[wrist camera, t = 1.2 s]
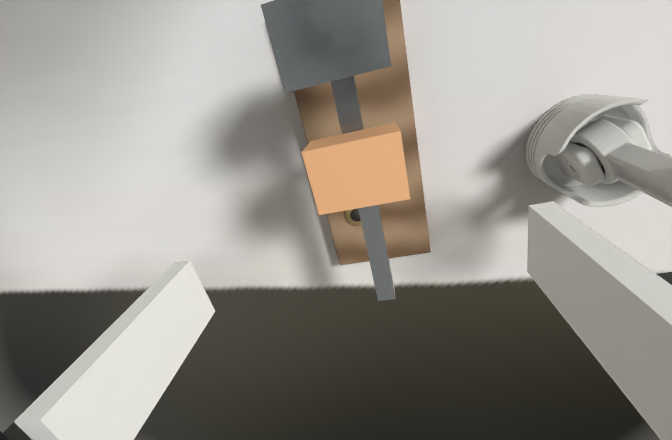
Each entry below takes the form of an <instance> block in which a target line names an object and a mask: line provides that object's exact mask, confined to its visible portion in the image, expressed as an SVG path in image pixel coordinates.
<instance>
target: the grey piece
mask: <svg viewBox="0 0 672 440" xmlns="http://www.w3.org/2000/svg"><path fill="white" fill-rule="evenodd" d="M261 8H262V11H263V15H264V19H265V22H266V26H267V29H268V33H269V37H270V40H271V44H272V47H273V51H274V55H275V58H276V62H277V66H278V69H279V73H280V76H281V80H282V84H283V87H284V91H285V93H288V92H292V91H296V90H299V89H303V88H307V87H311V86H315V85H319V84H323V83H327V82H331V87H332V91H333V96H334V100H335V105H336V110H337V114H338V119H339V123H340V128H341V132H342V134H344V133H349V132H353V131H358V130H363V129H364V124H363V119H362V114H361V108H360V103H359V98H358V93H357V87H356V82H355V77H354V76H355V75H359V74H363V73H367V72H371V71H374V70H378V69H382V68H386V67H390V66H391V59H390V52H389V45H388V38H387V31H386V24H385V17H384V10H383V3H382V0H274V1H271V2H268V3H265V4H262V5H261ZM358 210H359V215H360V219H361V224H362V229H363V233H364V238H365V242H366V247H367V252H368V256H369V261H370V265H371V270H372V274H373V279H374V284H375V288H376V293H377V297H378V300H379V301H380V300H388V299H395V290H394V284H393V279H392V273H391V268H390V263H389V257H388V252H387V247H386V241H385V236H384V231H383V225H382V220H381V215H380V209H379V205H374V206H368V207H363V208H358Z"/></svg>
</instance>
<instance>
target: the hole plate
mask: <svg viewBox="0 0 672 440" xmlns="http://www.w3.org/2000/svg"><path fill="white" fill-rule="evenodd" d="M382 3H383V10H384V17H385V24H386V31H387V38H388V45H389V52H390V59H391V66H390V67H386V68H382V69H378V70H374V71H371V72H367V73H363V74H359V75H355V76H354V77H355V82H356V87H357V93H358V98H359V103H360V108H361V114H362V119H363V124H364V129H367V128H372V127H376V126H381V125H385V124H390V123H394V122H396V123H397V125H398V127H399V129H400V131H401V137H402V144H403V151H404V158H405V165H406V172H407V179H408V186H409V193H410V199H408V200H403V201H397V202H391V203H385V204H380V205H379V209H380V215H381V220H382V225H383V231H384V236H385V241H386V247H387V252H388V257H389V258H394V257H401V256H407V255H414V254H421V253H428V252H431V251H430V243H429V235H428V226H427V218H426V210H425V202H424V194H423V186H422V177H421V169H420V161H419V153H418V145H417V137H416V128H415V120H414V112H413V104H412V96H411V88H410V79H409V71H408V63H407V55H406V47H405V39H404V30H403V22H402V14H401V6H400V0H382ZM294 93H295V97H296V101H297V104H298V108H299V112H300V116H301V119H302V123H303V127H304V131H305V135H306V138H307V142H308V144H309V143H310V141H313V140H317V139H322V138H326V137H331V136H335V135H340V134H342V132H341V128H340V123H339V119H338V114H337V110H336V105H335V100H334V96H333V91H332V87H331V82H327V83H323V84H319V85H315V86H311V87H307V88H303V89H299V90H296V91H294ZM327 217H328V221H329V225H330V229H331V232H332V236H333V240H334V244H335V248H336V251H337V255H338V259H339V263H340V265H345V264H352V263H359V262H366V261H369V256H368V252H367V247H366V242H365V238H364V233H363V229H362V224H361V219H360V215H359V210H358V208H357V209H351V210H346V211H340V212H334V213H328V214H327Z"/></svg>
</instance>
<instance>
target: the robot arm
mask: <svg viewBox="0 0 672 440" xmlns="http://www.w3.org/2000/svg"><path fill="white" fill-rule="evenodd" d="M527 272H528V273H529V274H530V275H531V277H532V278H533V279H534V280H535V282H536V283H537V284H538V286H539V287H540V288H541V289H542V290H543V292H544V293H545V294H546V296H547V297H548V298H549V299H550V301H551V302H552V303H553V304H554V306H555V307H556V308H557V309H558V311H559V312H560V313H561V314H562V316H563V317H564V318H565V320H566V321H567V322H568V323H569V324H570V326H571V327H572V328H573V330H574V331H575V332H576V333H577V335H578V336H579V337H580V338H581V340H582V341H583V342H584V343H585V345H586V346H587V347H588V349H589V350H590V351H591V352H592V354H593V355H594V356H595V357H596V359H597V360H598V361H599V362H600V364H601V365H602V366H603V368H604V369H605V370H606V371H607V373H608V374H609V375H610V376H611V377H612V379H613V380H614V381H615V383H616V384H617V385H618V386H619V388H620V389H621V390H622V391H623V393H624V394H625V395H626V396H627V398H628V399H629V400H630V401H631V403H632V404H633V405H634V407H635V408H636V409H637V410H638V412H639V413H640V414H641V415H642V417H643V418H644V419H645V420H646V422H647V423H648V424H649V426H650V427H651V428H652V429H653V431H655V433H656V434H657V436H658V437H659V438H660V439H661V440H672V272H668V273H660V274H655V273H654V272H652V271H651V270H650V269H648V268H647V267H645V266H644V265H643V264H641V263H640V262H638V261H637V260H636V259H634V258H633V257H631V256H630V255H628V254H627V253H626V252H624V251H623V250H621V249H620V248H619V247H617V246H616V245H614V244H613V243H611V242H610V241H609V240H607V239H606V238H604V237H603V236H602V235H600V234H599V233H597V232H596V231H594V230H593V229H592V228H590V227H589V226H587V225H586V224H585V223H583V222H582V221H580V220H579V219H577V218H576V217H575V216H573V215H572V214H570V213H569V212H568V211H566V210H565V209H563V208H562V207H560V206H559V205H558V204H556V203H555V202H553V201H552V202H546V203H540V204H534V205H529V216H528V261H527ZM214 312H215V310H214V308H213V306H212V304H211V302H210V300H209V298H208V296H207V294H206V292H205V290H204V288H203V286H202V284H201V282H200V280H199V278H198V276H197V274H196V272H195V270H194V268H193V266H192V264H191V262H190V261H184V262H178V263H174V264H173V265H172V266H171V267H170V268H169V269H168V270H167V271H166V272H165V273H164V274H163V275H162V276H160V277H159V278H158V279H157V280H156V281H155V282H154V283H153V284H152V285H151V286H150V287H149V288H148V289H147V290H146V291H145V292H144V293H143V295H141V296H140V298H138V299H137V300H136V301H135V302H134V303H133V304H132V305H131V307H129V308H128V309H127V310H126V311H125V312H124V313H123V314H122V315H121V316H120V317H119V318H118V319H117V320H116V321H115V322H114V323H113V324H112V325H111V326H110V327H109V328H108V329H107V330H106V331H105V332H104V333H103V334H102V335H101V336H100V337H99V338H98V339H97V340H96V341H95V342H94V343H93V344H92V345H91V346H90V347H89V348H88V349H87V350H86V351H85V352H84V353H83V354H82V355H81V356H80V357H79V358H78V359H77V360H76V361H75V362H74V363H73V364H72V365H71V366H70V367H69V368H68V369H67V370H66V371H65V372H64V373H63V374H62V375H61V376H60V377H59V378H58V379H57V380H56V381H55V382H54V383H53V384H52V385H51V386H50V387H49V388H48V389H46V390H45V391H44V392H43V393H42V395H40V396H39V397H38V398H37V399H36V400H35V401H34V403H32V404H31V405H30V406H29V407H28V408H27V409H26V410H25V412H23V413H22V414H21V415H20V416H19V417H18V418H17V419H16V420H15V421H14V423H13V424H12V425H11V426H10V427H8V429H6V430H5V431H4V432H3V433H2V432H1V431H0V440H133V439H134V438H135V436H136V435H137V433H138V432H139V430H140V428H141V427H142V426H143V424H144V422H145V421H146V419H147V418H148V416H149V415H150V413H151V411H152V410H153V408H154V407H155V405H156V404H157V402H158V400H159V399H160V397H161V396H162V394H163V393H164V391H165V389H166V388H167V386H168V385H169V383H170V382H171V380H172V378H173V377H174V375H175V374H176V372H177V371H178V369H179V367H180V366H181V364H182V363H183V361H184V360H185V358H186V356H187V355H188V353H189V351H190V350H191V349H192V347H193V345H194V344H195V342H196V341H197V339H198V337H199V336H200V334H201V333H202V331H203V330H204V328H205V327H206V325H207V323H208V322H209V320H210V318H211V317H212V316H213V314H214Z"/></svg>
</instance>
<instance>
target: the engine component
mask: <svg viewBox="0 0 672 440" xmlns="http://www.w3.org/2000/svg"><path fill="white" fill-rule="evenodd" d="M646 101H648V100H646V99H637V98H628V97H618V96H608V95H598V94H583V95H578V96H573V97H571V98H568V99H566V100H563V101H561V102H560V103H558V104H556V105H555V106H553V107H552V108H550V109H549V110H548V111H547V112H546V113H545V114H544V115H543V116H542V117H541V118H540V119H539V120H538V121H537V123H536V124H535V125H534V127H533V129H532V131H531V133H530V135H529V137H528V140H527V145H526V161H527V164H528V167H529V169H530V170H531V172H532V173H533V175H534V176H536V177H537V178H538V179H539V180H541V181H543V182H544V183H546V184H547V185H549V186H550V187H552V188H553V189H555V190H557V191H558V192H560V193H562V194H564V195H566V196H568V197H570V198H572V199H574V200H576V201H577V202H579V203H581V204H583V205H586V206H590V207H608V206H614V205H618V204H621V203H624V202H627V201H630V200H632V199H634V198H636V197H638V196H639V195H641V194H643V193H646V194H648V195H650V196H652V197H653V198H655V199H657V200H659V201H661V202H663V203H665V204H667V205H669V206H671V207H672V157H671V156H670V155H668V154H665V153H662V152H660V151H659V150H658V149H657V147H656V146H655V144H654V142H653V139H652V136H651V133H650V128H649V124H648V119H647V117H646V115H645V113H644V112H643V110H642V109H641V107H640V106H639V105H641V104H643V103H645V102H646Z"/></svg>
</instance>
